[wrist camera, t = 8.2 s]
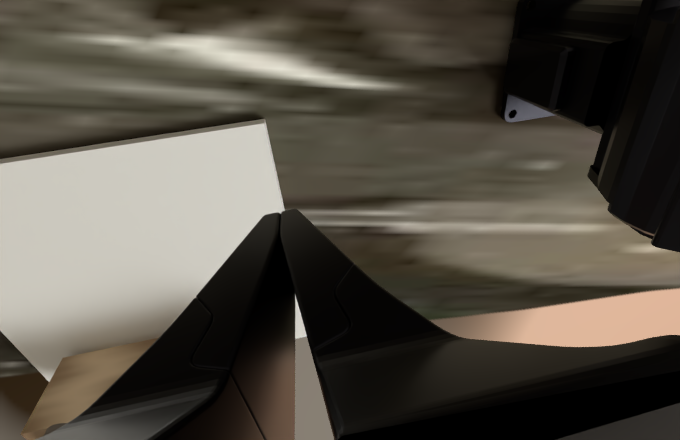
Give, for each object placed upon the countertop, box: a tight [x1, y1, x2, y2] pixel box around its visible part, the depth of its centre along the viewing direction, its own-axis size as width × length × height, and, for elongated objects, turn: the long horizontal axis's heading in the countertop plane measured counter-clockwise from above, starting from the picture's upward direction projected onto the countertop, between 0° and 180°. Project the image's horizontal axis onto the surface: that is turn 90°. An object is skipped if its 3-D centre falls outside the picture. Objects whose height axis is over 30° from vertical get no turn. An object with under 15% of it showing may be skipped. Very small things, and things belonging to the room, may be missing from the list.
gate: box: [21, 338, 158, 440], centre depth 23 cm, size 14×2×6 cm, turn 96°
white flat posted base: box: [0, 119, 307, 382], centre depth 20 cm, size 19×17×7 cm
